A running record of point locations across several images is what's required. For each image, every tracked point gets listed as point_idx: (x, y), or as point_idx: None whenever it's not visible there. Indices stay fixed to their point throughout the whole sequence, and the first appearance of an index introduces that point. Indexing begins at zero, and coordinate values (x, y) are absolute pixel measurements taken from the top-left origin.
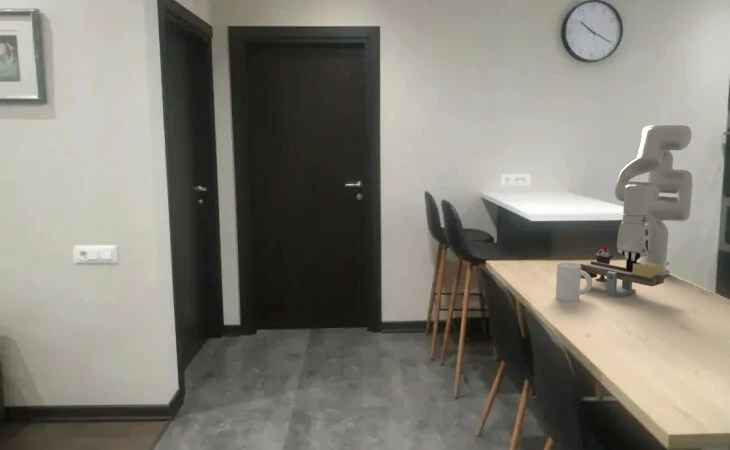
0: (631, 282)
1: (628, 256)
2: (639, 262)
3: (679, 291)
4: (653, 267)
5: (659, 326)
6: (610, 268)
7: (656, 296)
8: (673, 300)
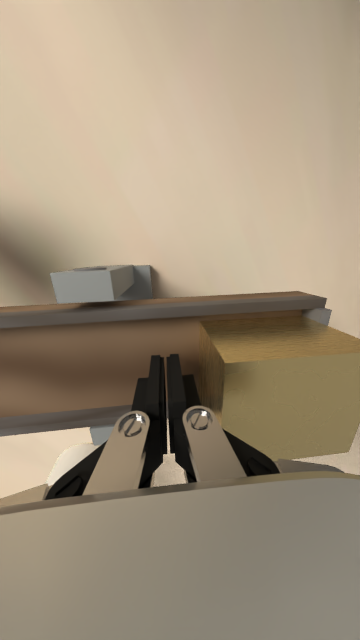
0: (128, 273)
1: (150, 487)
2: (234, 418)
3: (259, 78)
4: (348, 441)
5: (321, 458)
6: (7, 338)
7: (226, 257)
8: (286, 257)
